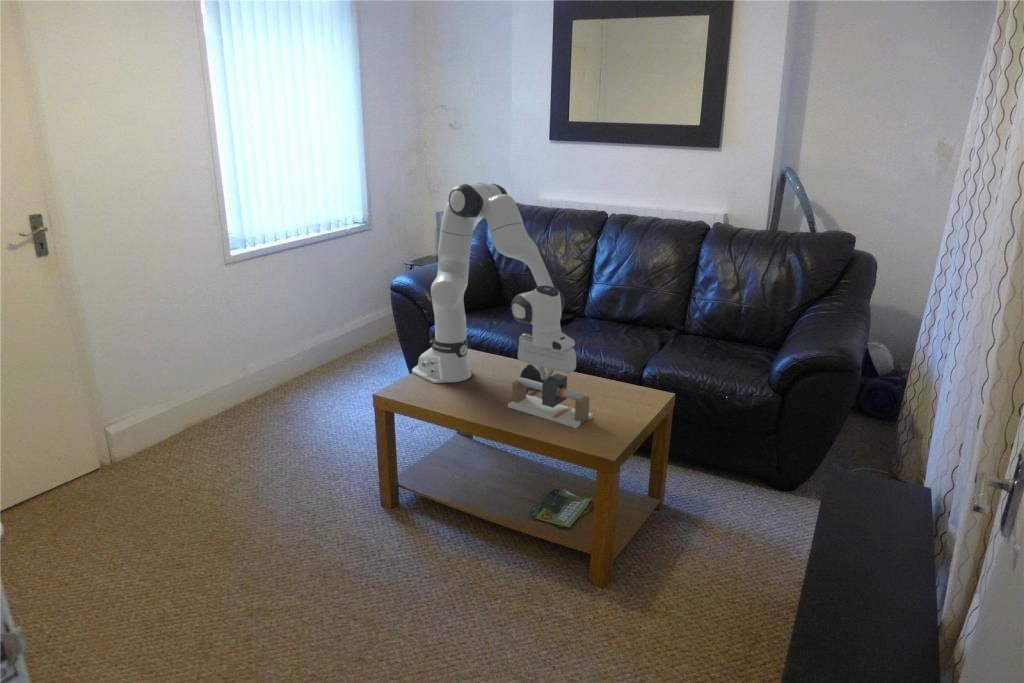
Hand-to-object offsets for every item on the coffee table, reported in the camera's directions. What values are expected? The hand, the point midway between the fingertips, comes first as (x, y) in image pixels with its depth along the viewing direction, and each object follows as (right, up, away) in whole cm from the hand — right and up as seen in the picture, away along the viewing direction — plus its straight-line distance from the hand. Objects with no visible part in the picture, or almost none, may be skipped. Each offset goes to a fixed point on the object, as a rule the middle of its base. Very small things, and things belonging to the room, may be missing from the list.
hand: (545, 379), depth 224 cm
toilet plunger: (-6, -5, +20) cm, 21 cm away
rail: (+1, -11, +2) cm, 11 cm away
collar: (+3, -7, 0) cm, 8 cm away
